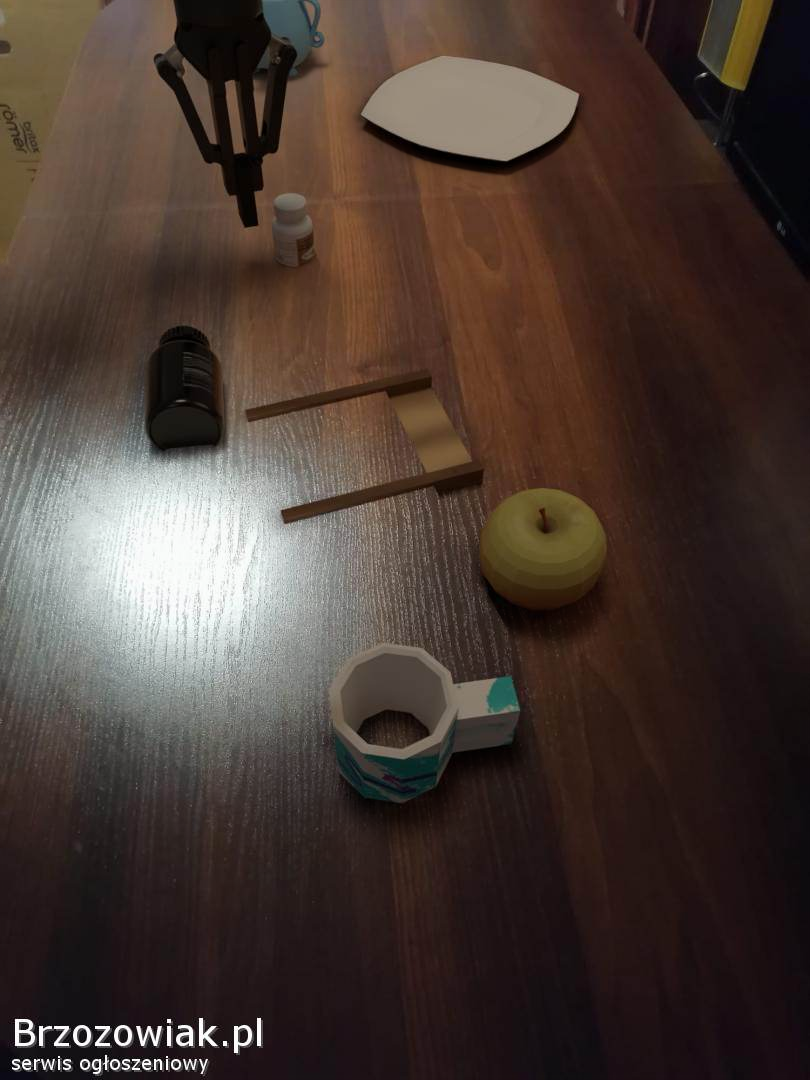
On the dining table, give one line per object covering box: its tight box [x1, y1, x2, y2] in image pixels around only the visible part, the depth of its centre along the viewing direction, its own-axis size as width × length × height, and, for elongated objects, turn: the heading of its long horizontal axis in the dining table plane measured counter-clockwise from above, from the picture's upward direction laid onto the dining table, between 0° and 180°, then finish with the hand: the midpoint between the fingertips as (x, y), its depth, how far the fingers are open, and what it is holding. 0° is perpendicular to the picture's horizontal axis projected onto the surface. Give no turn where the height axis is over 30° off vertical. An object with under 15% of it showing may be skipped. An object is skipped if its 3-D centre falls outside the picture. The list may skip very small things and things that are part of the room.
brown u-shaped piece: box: [244, 368, 485, 524], centre depth 78 cm, size 14×18×2 cm
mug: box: [328, 642, 521, 804], centre depth 57 cm, size 8×12×8 cm
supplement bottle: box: [144, 325, 225, 452], centre depth 79 cm, size 7×7×12 cm
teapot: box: [253, 0, 325, 77], centre depth 124 cm, size 15×14×11 cm
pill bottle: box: [271, 192, 316, 268], centre depth 93 cm, size 4×4×8 cm
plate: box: [360, 55, 580, 163], centre depth 118 cm, size 27×27×2 cm
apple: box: [478, 487, 608, 611], centre depth 67 cm, size 10×10×8 cm
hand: (248, 219), depth 90 cm, fingers closed
